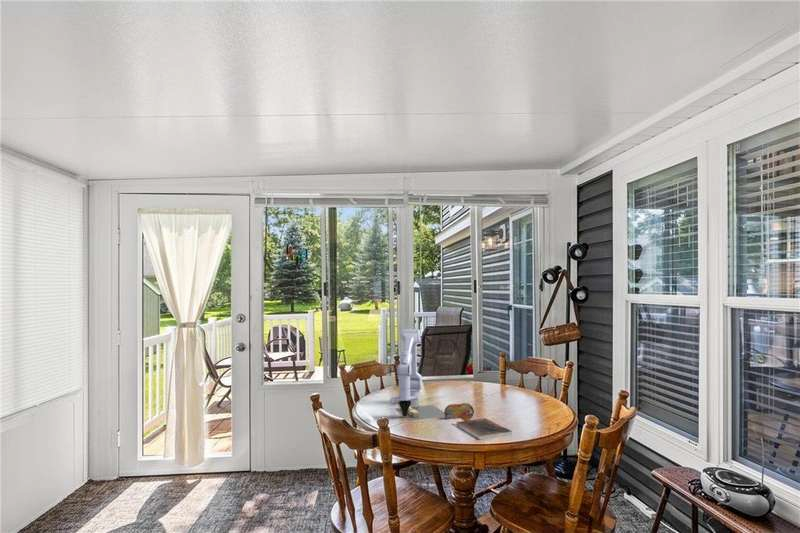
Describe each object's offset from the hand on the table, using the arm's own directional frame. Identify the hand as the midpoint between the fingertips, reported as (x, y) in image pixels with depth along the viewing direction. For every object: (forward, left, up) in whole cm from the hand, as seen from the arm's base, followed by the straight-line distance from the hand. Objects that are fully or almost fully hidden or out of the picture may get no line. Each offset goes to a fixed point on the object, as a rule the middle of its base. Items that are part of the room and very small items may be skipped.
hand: (404, 415), depth 221 cm
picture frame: (+26, +29, -3) cm, 39 cm away
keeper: (-10, +10, -1) cm, 15 cm away
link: (-6, +5, 0) cm, 8 cm away
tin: (+10, +25, -2) cm, 27 cm away
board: (-5, +11, -2) cm, 13 cm away
